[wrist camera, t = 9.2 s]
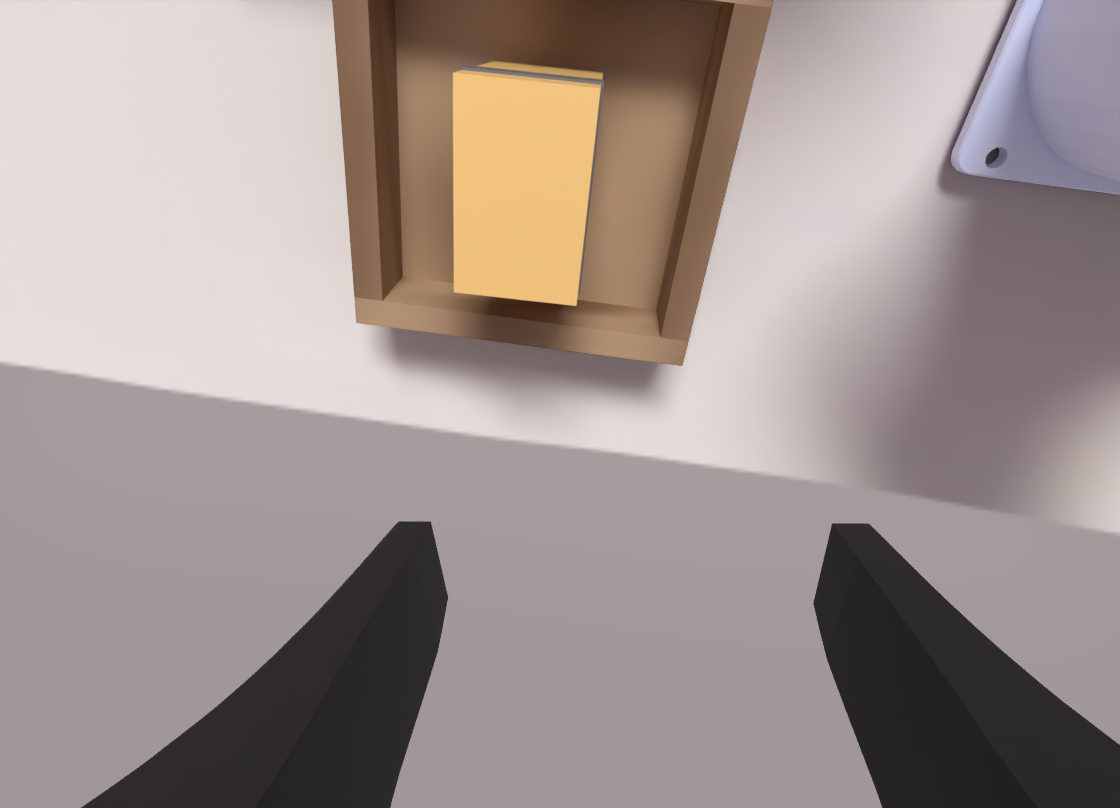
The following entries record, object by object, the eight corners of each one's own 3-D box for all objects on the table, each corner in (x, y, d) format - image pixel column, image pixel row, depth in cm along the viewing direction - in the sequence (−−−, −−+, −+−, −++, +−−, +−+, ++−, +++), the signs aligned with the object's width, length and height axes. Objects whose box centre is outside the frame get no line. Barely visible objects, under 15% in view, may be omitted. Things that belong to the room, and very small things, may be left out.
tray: (757, -29, 15) (783, -38, 13) (674, 328, 20) (682, 366, 18) (367, -80, 15) (325, -99, 13) (384, 290, 20) (356, 322, 18)
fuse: (605, 69, 16) (603, 85, 11) (585, 242, 18) (578, 308, 14) (493, 58, 16) (450, 69, 11) (489, 231, 18) (451, 294, 14)
